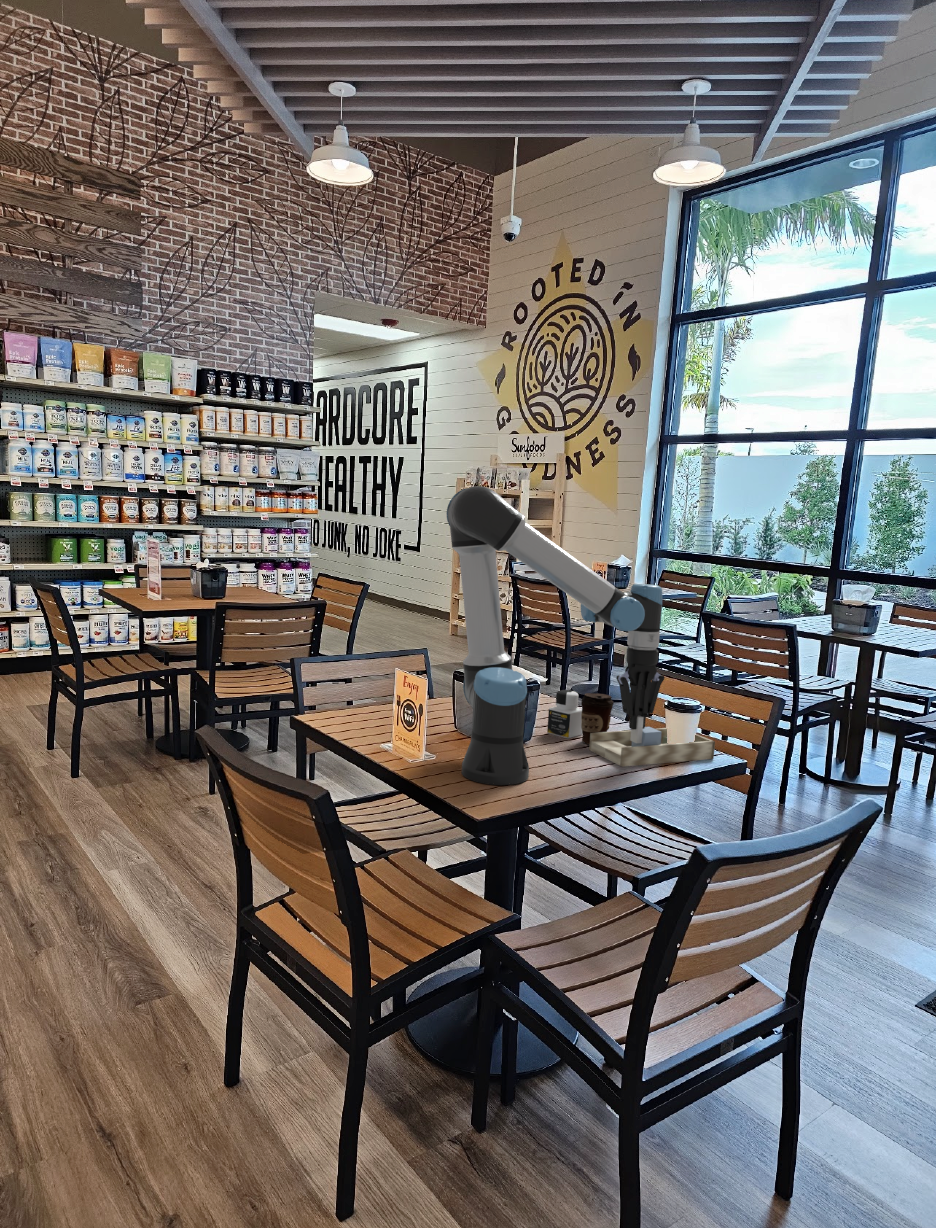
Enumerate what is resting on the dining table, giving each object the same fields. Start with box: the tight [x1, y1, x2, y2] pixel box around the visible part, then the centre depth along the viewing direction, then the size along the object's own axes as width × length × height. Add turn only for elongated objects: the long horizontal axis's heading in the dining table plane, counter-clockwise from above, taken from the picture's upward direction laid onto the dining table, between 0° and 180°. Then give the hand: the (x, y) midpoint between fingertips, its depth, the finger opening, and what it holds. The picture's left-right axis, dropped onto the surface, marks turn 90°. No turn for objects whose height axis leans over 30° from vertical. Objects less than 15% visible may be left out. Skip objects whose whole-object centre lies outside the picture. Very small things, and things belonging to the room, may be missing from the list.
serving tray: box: [588, 727, 716, 768], centre depth 202 cm, size 28×14×4 cm, turn 114°
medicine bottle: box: [546, 689, 583, 739], centre depth 218 cm, size 7×7×12 cm
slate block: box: [631, 726, 662, 747], centre depth 198 cm, size 5×5×5 cm
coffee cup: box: [581, 692, 614, 745], centre depth 210 cm, size 9×8×13 cm
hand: (635, 741), depth 196 cm, fingers closed
